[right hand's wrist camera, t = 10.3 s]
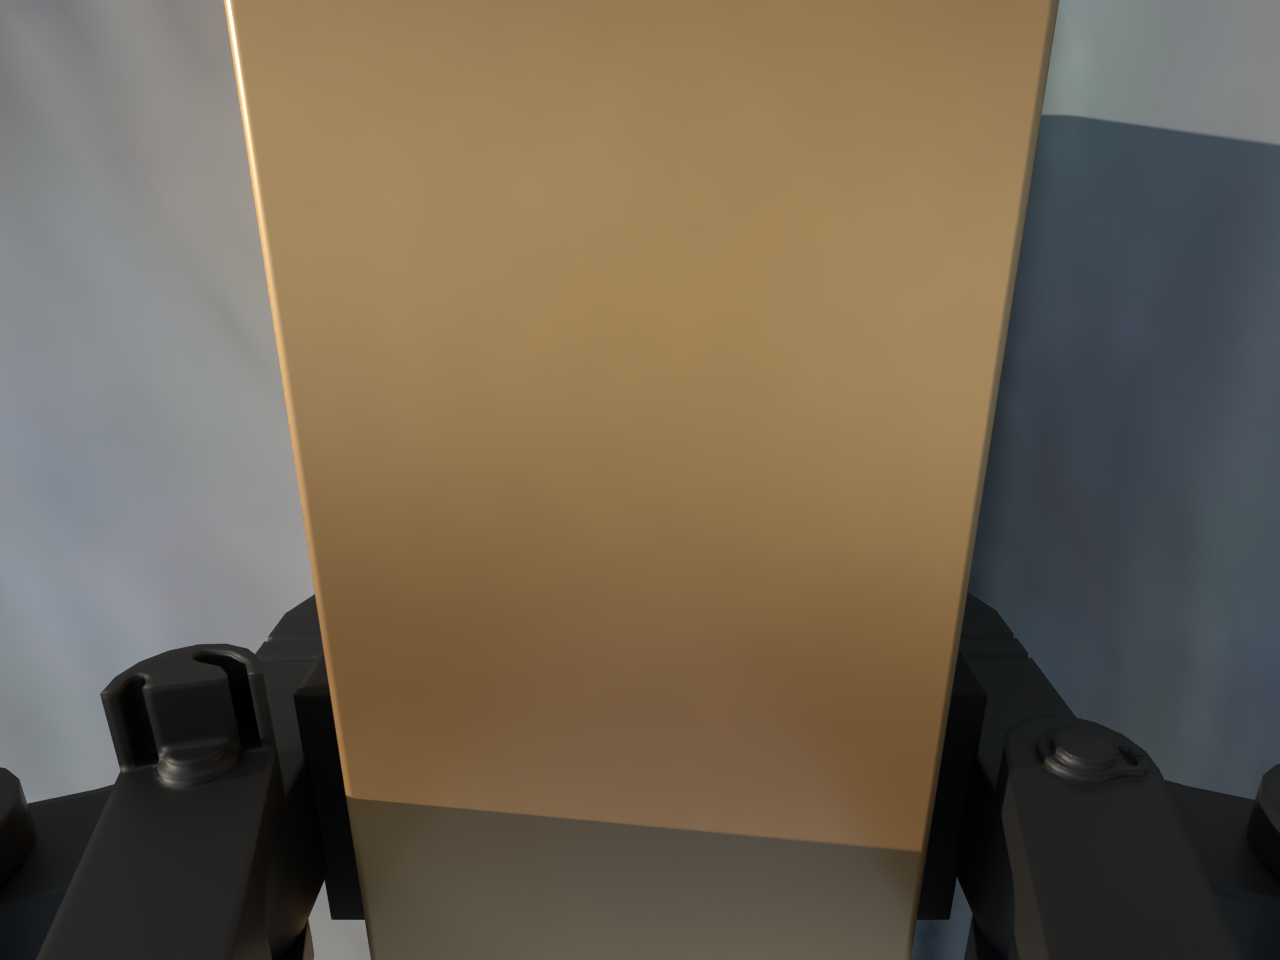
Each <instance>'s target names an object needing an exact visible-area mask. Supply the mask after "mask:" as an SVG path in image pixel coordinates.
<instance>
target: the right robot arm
mask: <svg viewBox="0 0 1280 960" xmlns="http://www.w3.org/2000/svg"><path fill="white" fill-rule="evenodd" d="M1013 635H1014V634H1013V633H1012V631H1011V630H1010V629H1009V627H1008V626H1007V625H1006V623H1005V622H1004V621H1003V619H1002V618H1001V617H1000V615H999V614H998V613H997V611H996V610H994V609H993V608H991V607H990V606H988V605H987V604H985V603H984V602H982V601H980V600H979V599H977V598H976V597H974V596H973V595H971V594H970V593H968V592H967V597H966V604H965V610H964V617H963V623H962V629H961V636H960V642H959V649H958V655H957V662H956V668H955V674H954V681H953V687H952V694H951V700H950V707H949V713H948V720H947V726H946V732H945V739H944V745H943V752H942V758H941V765H940V771H939V778H938V784H937V790H936V797H935V803H934V810H933V816H932V823H931V829H930V836H929V842H928V848H927V855H926V861H925V868H924V874H923V881H922V887H921V894H920V900H919V906H918V913H917V919H916V920H949V919H950V913H951V907H952V901H953V895H954V890H955V884H956V878H958V880H959V882H960V885H961V887H962V889H963V892H964V894H965V896H966V899H967V901H968V904H969V906H970V908H971V911H972V913H973V914H972V920H971V925H970V931H969V936H968V942H967V947H966V952H965V958H964V960H1280V764H1277V765H1275V766H1274V767H1273V768H1272V769H1270V770H1269V771H1268V772H1267V773H1265V774H1264V775H1263V778H1262V781H1261V784H1260V787H1259V790H1258V793H1257V796H1256V800H1252V799H1247V798H1242V797H1237V796H1232V795H1228V794H1223V793H1218V792H1213V791H1208V790H1204V789H1199V788H1194V787H1189V786H1185V785H1181V784H1178V783H1174V782H1170V781H1167V780H1164V779H1163V776H1162V774H1161V772H1160V770H1159V768H1158V767H1157V766H1156V764H1155V763H1154V762H1153V760H1152V759H1151V758H1150V756H1149V755H1148V754H1147V752H1146V751H1145V750H1143V749H1142V748H1140V747H1139V746H1138V745H1136V744H1135V743H1134V742H1132V741H1131V740H1129V739H1128V738H1127V737H1125V736H1124V735H1122V734H1120V733H1118V732H1116V731H1113V730H1111V729H1109V728H1107V727H1104V726H1102V725H1100V724H1098V723H1095V722H1091V721H1087V720H1083V719H1079V718H1076V717H1075V715H1074V714H1073V713H1072V711H1071V710H1070V709H1069V707H1068V706H1067V705H1066V703H1065V702H1064V701H1063V699H1062V698H1061V697H1060V695H1059V694H1058V693H1057V691H1056V690H1055V689H1054V687H1053V686H1052V685H1051V683H1050V682H1049V681H1048V679H1047V678H1046V677H1045V675H1044V674H1043V673H1042V671H1041V670H1040V669H1039V667H1038V666H1037V665H1036V663H1035V662H1034V661H1033V659H1032V658H1028V653H1027V651H1026V650H1025V649H1024V647H1023V646H1022V645H1021V643H1020V642H1019V641H1018V639H1014V637H1013ZM100 695H101V699H102V703H103V706H104V710H105V714H106V718H107V721H108V725H109V729H110V733H111V736H112V740H113V744H114V748H115V751H116V755H117V759H118V763H119V766H120V770H121V771H120V774H119V776H118V778H117V780H116V782H115V784H114V785H110V786H107V787H103V788H99V789H96V790H91V791H86V792H81V793H76V794H72V795H67V796H62V797H57V798H53V799H48V800H43V801H38V802H33V803H29V804H27V802H26V799H25V796H24V793H23V789H22V786H21V783H20V780H19V779H18V778H17V777H16V776H15V775H14V774H12V773H11V772H10V771H9V770H7V769H6V768H0V960H314V950H313V943H312V936H311V931H310V925H309V920H308V917H309V915H310V913H311V910H312V908H313V906H314V903H315V901H316V899H317V896H318V894H319V892H320V889H321V887H322V884H323V882H324V880H325V884H326V890H327V896H328V902H329V907H330V913H331V919H332V920H365V917H364V910H363V904H362V897H361V891H360V884H359V877H358V871H357V864H356V858H355V851H354V845H353V838H352V832H351V825H350V819H349V812H348V806H347V799H346V793H345V786H344V780H343V773H342V767H341V760H340V754H339V747H338V741H337V734H336V728H335V721H334V715H333V708H332V701H331V695H330V688H329V682H328V675H327V669H326V662H325V656H324V649H323V643H322V636H321V630H320V623H319V617H318V610H317V604H316V597H315V595H313V596H312V597H310V598H308V599H307V600H305V601H304V602H302V603H301V604H299V605H298V606H296V607H295V608H293V609H292V610H290V611H289V612H287V613H285V615H284V616H283V617H282V619H281V620H280V622H279V623H278V624H277V626H276V627H275V628H274V630H273V631H272V632H271V634H270V635H269V636H268V642H264V643H263V644H262V646H261V647H260V648H259V650H258V651H257V652H256V654H254V653H252V652H251V651H250V650H249V649H247V648H242V647H238V646H234V645H229V644H198V645H194V646H189V647H184V648H179V649H174V650H170V651H166V652H164V653H161V654H159V655H156V656H154V657H151V658H148V659H146V660H143V661H141V662H139V663H137V664H135V665H134V666H132V667H131V668H129V669H127V670H126V671H124V672H123V673H121V674H119V675H118V676H116V677H115V678H114V679H113V680H112V681H111V682H110V684H109V685H108V686H107V687H106V688H105V689H104V690H103V691H102V693H101V694H100Z"/></svg>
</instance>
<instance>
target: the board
mask: <svg viewBox="0 0 1280 960" xmlns="http://www.w3.org/2000/svg"><path fill="white" fill-rule="evenodd" d="M224 4H225V11H226V17H227V24H228V30H229V37H230V43H231V50H232V56H233V63H234V69H235V76H236V82H237V89H238V95H239V102H240V108H241V115H242V121H243V128H244V134H245V141H246V147H247V154H248V160H249V167H250V173H251V180H252V187H253V193H254V200H255V206H256V213H257V219H258V226H259V232H260V239H261V245H262V252H263V258H264V265H265V271H266V278H267V284H268V291H269V297H270V304H271V310H272V317H273V323H274V330H275V336H276V343H277V349H278V356H279V363H280V369H281V376H282V382H283V389H284V395H285V402H286V408H287V415H288V421H289V428H290V434H291V441H292V447H293V454H294V460H295V467H296V473H297V480H298V486H299V493H300V499H301V506H302V512H303V519H304V525H305V532H306V539H307V545H308V552H309V558H310V565H311V571H312V578H313V584H314V591H315V597H316V604H317V610H318V617H319V623H320V630H321V636H322V643H323V649H324V656H325V662H326V669H327V675H328V682H329V688H330V695H331V701H332V708H333V715H334V721H335V728H336V734H337V741H338V747H339V754H340V760H341V767H342V773H343V780H344V786H345V793H346V799H347V806H348V812H349V819H350V825H351V832H352V838H353V845H354V851H355V858H356V864H357V871H358V877H359V884H360V891H361V897H362V904H363V910H364V917H365V923H366V930H367V936H368V943H369V949H370V956H371V960H910V958H911V951H912V945H913V939H914V932H915V926H916V919H917V913H918V906H919V900H920V894H921V887H922V881H923V874H924V868H925V861H926V855H927V848H928V842H929V836H930V829H931V823H932V816H933V810H934V803H935V797H936V790H937V784H938V778H939V771H940V765H941V758H942V752H943V745H944V739H945V732H946V726H947V720H948V713H949V707H950V700H951V694H952V687H953V681H954V674H955V668H956V662H957V655H958V649H959V642H960V636H961V629H962V623H963V617H964V610H965V604H966V597H967V591H968V584H969V578H970V571H971V565H972V559H973V552H974V546H975V539H976V533H977V526H978V520H979V513H980V507H981V501H982V494H983V488H984V481H985V475H986V468H987V462H988V455H989V449H990V443H991V436H992V430H993V423H994V417H995V410H996V404H997V397H998V391H999V385H1000V378H1001V372H1002V365H1003V359H1004V352H1005V346H1006V340H1007V333H1008V327H1009V320H1010V314H1011V307H1012V301H1013V294H1014V288H1015V282H1016V275H1017V269H1018V262H1019V256H1020V249H1021V243H1022V236H1023V230H1024V224H1025V217H1026V211H1027V204H1028V198H1029V191H1030V185H1031V178H1032V172H1033V166H1034V159H1035V153H1036V146H1037V140H1038V133H1039V127H1040V120H1041V114H1042V108H1043V101H1044V95H1045V88H1046V82H1047V75H1048V69H1049V62H1050V56H1051V50H1052V43H1053V37H1054V30H1055V24H1056V17H1057V11H1058V5H1059V0H224Z"/></svg>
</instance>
